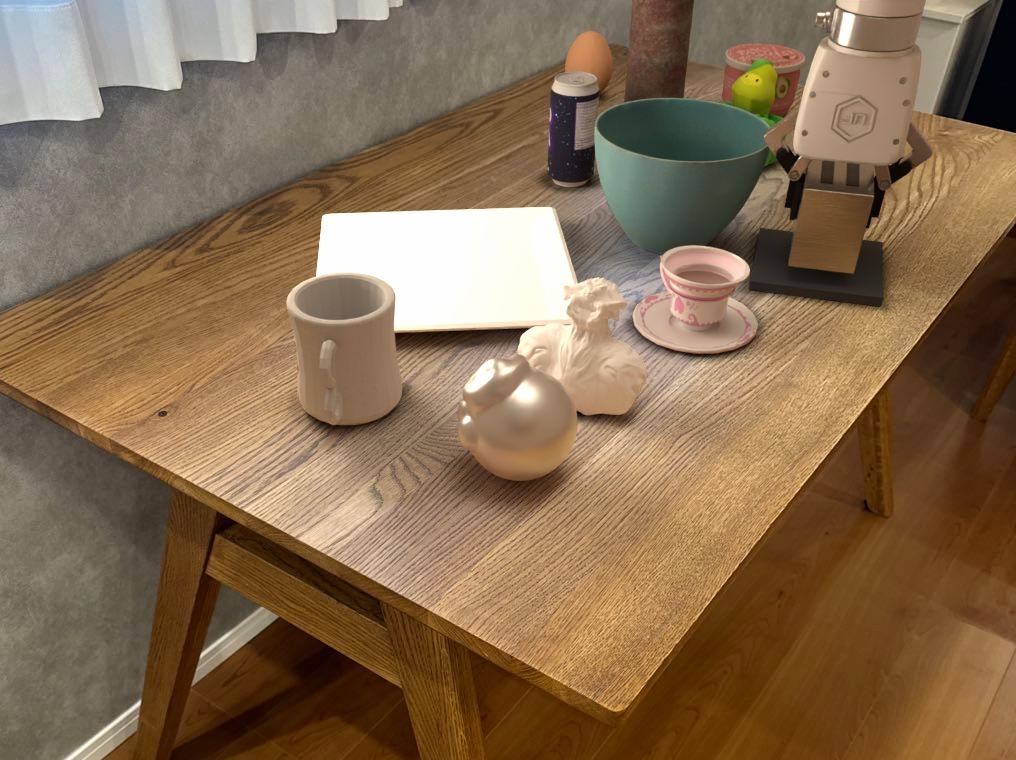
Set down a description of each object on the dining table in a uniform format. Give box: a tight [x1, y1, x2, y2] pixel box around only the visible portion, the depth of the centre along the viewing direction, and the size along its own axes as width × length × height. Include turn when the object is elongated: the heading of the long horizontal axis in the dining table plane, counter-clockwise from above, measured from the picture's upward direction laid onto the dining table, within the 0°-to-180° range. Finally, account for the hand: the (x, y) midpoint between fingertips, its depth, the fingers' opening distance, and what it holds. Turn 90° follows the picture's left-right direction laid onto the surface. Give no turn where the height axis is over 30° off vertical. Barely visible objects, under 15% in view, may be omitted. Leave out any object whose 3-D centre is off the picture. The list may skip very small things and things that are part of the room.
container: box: [721, 43, 806, 118], centre depth 139 cm, size 10×10×8 cm
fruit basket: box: [718, 59, 788, 168], centre depth 127 cm, size 11×9×11 cm
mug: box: [285, 272, 403, 426], centre depth 85 cm, size 12×9×10 cm
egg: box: [564, 30, 614, 95], centre depth 145 cm, size 7×7×9 cm
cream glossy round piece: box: [457, 353, 578, 482], centre depth 79 cm, size 9×9×10 cm
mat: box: [748, 227, 884, 307], centre depth 107 cm, size 13×13×1 cm
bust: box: [517, 276, 649, 416], centre depth 87 cm, size 12×8×11 cm
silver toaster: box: [788, 159, 875, 274], centre depth 103 cm, size 6×12×8 cm, turn 164°
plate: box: [315, 206, 579, 334], centre depth 105 cm, size 26×26×2 cm
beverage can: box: [546, 71, 601, 188], centre depth 121 cm, size 6×6×12 cm
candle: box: [623, 0, 695, 103], centre depth 124 cm, size 8×7×20 cm
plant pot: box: [594, 97, 770, 255], centre depth 109 cm, size 18×18×12 cm
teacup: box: [631, 245, 759, 354], centre depth 97 cm, size 12×12×6 cm
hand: (829, 217), depth 104 cm, fingers closed on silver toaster, 6 cm apart
